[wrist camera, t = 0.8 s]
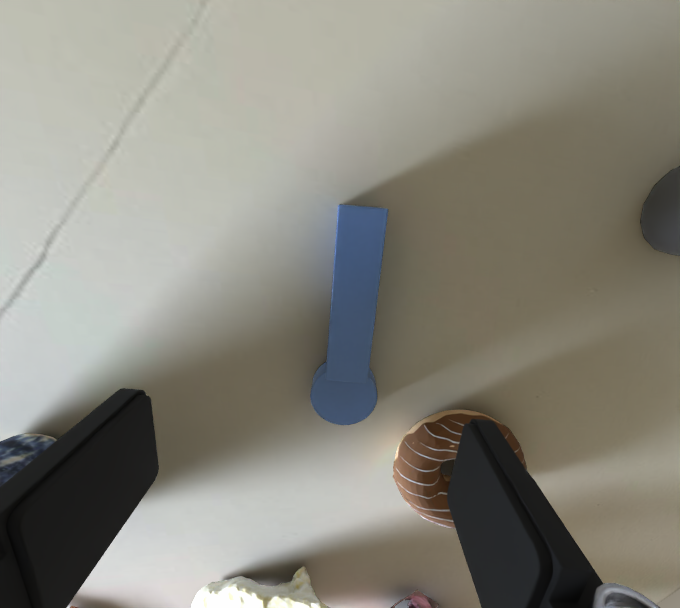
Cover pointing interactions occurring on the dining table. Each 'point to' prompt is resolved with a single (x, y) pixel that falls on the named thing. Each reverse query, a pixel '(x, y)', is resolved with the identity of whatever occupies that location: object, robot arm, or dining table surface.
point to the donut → (435, 461)
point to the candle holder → (663, 214)
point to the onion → (419, 601)
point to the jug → (21, 452)
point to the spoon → (352, 318)
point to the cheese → (259, 594)
